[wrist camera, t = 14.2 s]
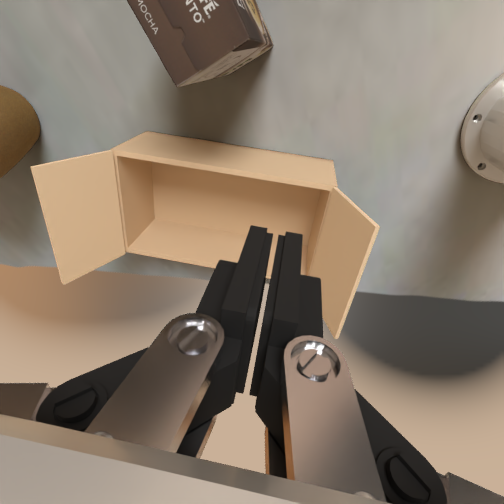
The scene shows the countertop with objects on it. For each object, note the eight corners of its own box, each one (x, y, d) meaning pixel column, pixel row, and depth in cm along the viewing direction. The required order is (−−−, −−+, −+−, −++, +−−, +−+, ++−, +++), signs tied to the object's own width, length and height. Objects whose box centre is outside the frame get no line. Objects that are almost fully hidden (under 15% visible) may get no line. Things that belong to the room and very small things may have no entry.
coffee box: (276, 45, 34) (253, 42, 21) (226, 76, 37) (176, 93, 23) (235, -55, 31) (174, -137, 17) (181, -13, 33) (91, -55, 20)
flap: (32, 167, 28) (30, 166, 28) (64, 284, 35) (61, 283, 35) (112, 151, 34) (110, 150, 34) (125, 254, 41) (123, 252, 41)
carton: (332, 160, 40) (337, 186, 32) (310, 249, 47) (310, 287, 39) (147, 130, 42) (110, 149, 34) (152, 221, 49) (123, 252, 41)
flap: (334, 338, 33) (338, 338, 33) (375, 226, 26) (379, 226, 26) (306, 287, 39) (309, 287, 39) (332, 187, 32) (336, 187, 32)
